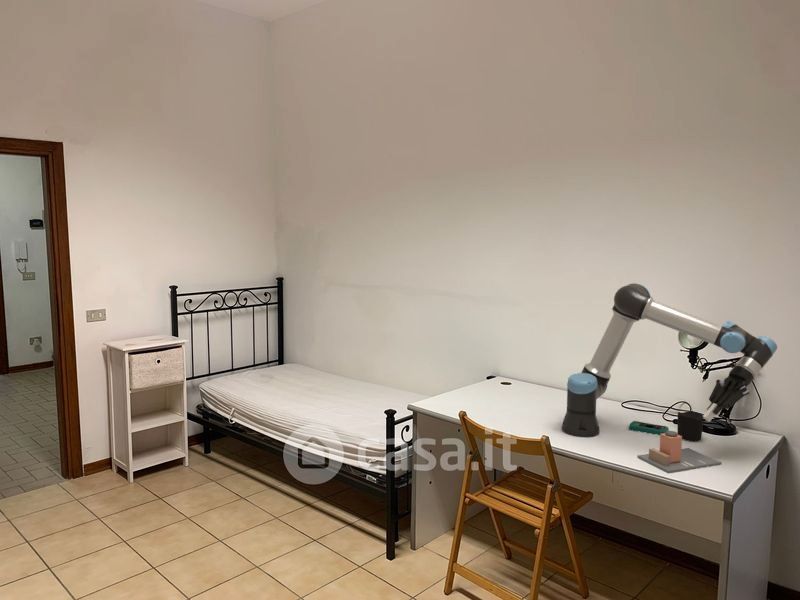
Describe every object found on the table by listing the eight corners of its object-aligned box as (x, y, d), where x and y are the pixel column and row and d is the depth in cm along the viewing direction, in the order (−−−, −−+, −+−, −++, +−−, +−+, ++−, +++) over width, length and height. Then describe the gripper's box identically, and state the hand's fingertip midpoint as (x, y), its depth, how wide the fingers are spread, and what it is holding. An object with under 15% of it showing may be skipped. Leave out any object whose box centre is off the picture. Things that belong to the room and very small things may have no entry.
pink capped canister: (670, 456, 212) (671, 429, 211) (680, 461, 208) (682, 434, 207) (659, 457, 211) (660, 431, 210) (669, 462, 206) (671, 435, 205)
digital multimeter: (666, 437, 236) (667, 430, 236) (628, 430, 244) (628, 424, 244) (669, 432, 243) (669, 425, 242) (631, 426, 251) (632, 419, 250)
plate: (688, 449, 222) (688, 439, 221) (721, 464, 208) (722, 452, 207) (637, 457, 214) (637, 446, 213) (668, 473, 200) (669, 461, 199)
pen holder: (676, 432, 241) (678, 409, 240) (702, 436, 237) (703, 412, 236) (675, 439, 233) (677, 415, 232) (702, 443, 229) (703, 418, 228)
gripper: (765, 382, 210) (726, 431, 207) (734, 374, 223) (696, 419, 219) (755, 369, 208) (716, 418, 205) (724, 361, 220) (686, 407, 217)
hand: (706, 419), depth 212 cm, fingers closed
